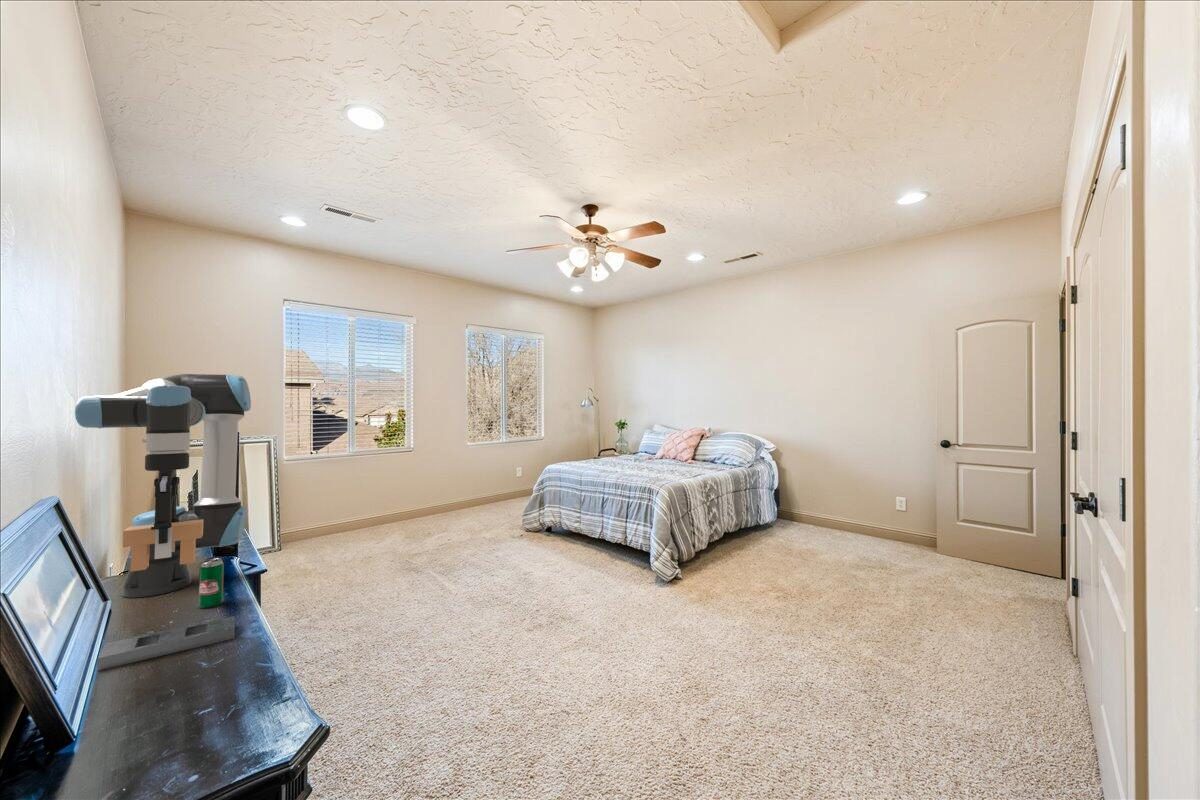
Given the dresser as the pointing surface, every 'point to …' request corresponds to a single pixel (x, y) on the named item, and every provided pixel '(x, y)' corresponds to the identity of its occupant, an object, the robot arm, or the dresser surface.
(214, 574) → the soda can
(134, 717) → the dresser surface
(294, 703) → the dresser surface
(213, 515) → the robot arm
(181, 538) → the wooden arch block
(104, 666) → the rail
